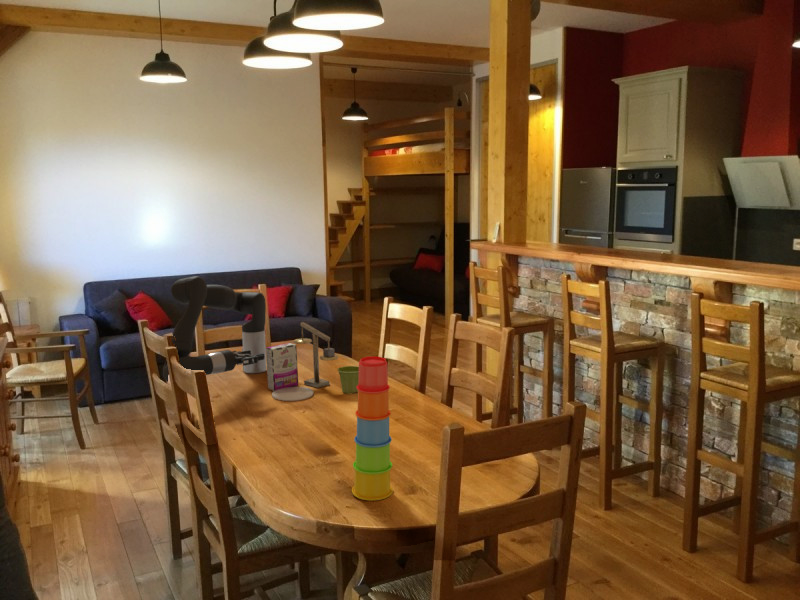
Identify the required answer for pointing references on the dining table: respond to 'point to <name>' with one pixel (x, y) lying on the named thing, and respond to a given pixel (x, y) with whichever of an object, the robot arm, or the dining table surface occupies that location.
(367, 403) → the stacking cups
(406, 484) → the dining table surface
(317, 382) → the balance
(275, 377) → the candy bar box
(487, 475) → the dining table surface
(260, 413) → the dining table surface
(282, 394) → the dish
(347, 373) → the plant pot
